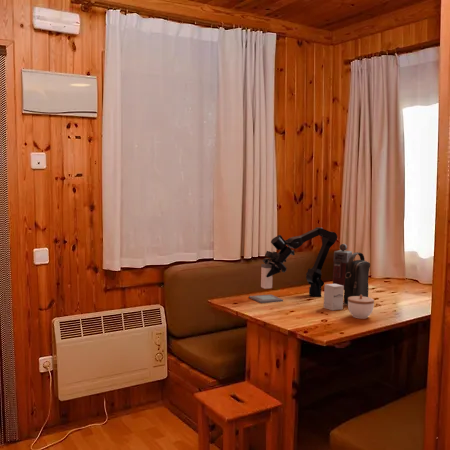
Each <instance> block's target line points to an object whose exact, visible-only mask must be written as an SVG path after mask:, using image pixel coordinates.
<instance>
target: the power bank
mask: <svg viewBox="0 0 450 450" xmlns="http://www.w3.org/2000/svg"><path fill="white" fill-rule="evenodd" d="M271 268H272V265H271V264H265V263H261V269H260V270H261V272H260V273H261V274H260V276H261V277H260V287H261V288H262V289H264V290H267V289H273V275H272V276H270V277H266V276H267V274H268V273H269V271H270V270H271Z"/></svg>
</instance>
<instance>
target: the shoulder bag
mask: <svg viewBox="0 0 450 450" xmlns="http://www.w3.org/2000/svg"><path fill="white" fill-rule="evenodd" d="M357 255H358V257H359V259H356V260H355V258H356V256H357ZM370 268H371V263H370V262H369V261H367V260H365V256H364V254H363V253H362V252H352V254H351V256H350V258H349V261H348V262H347V263H346V268H345V288H344V294H343V306H348V297H351V296H360V295H362V296H363V297H369V273H370Z"/></svg>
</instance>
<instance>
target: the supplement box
mask: <svg viewBox="0 0 450 450" xmlns="http://www.w3.org/2000/svg"><path fill="white" fill-rule="evenodd" d="M323 288H324V290H323V291H324V292H323V308H324V309H326V310H330V311H337V310H343V308H344V305H343V303H344V286H343V285H339V284H333V283H326V284H325V283H324V286H323Z"/></svg>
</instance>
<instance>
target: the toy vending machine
mask: <svg viewBox="0 0 450 450" xmlns="http://www.w3.org/2000/svg"><path fill="white" fill-rule="evenodd" d="M347 249H348V245H347V244H346V243H342V244H340V245H339V250H334V252H333V264H332V265H333V268H332V271H333V272H332V284H339V285H343V286H344V288H345V268H346V263H347V262H348V261H349V258H350V256H351V254H353V251H351V250H347Z"/></svg>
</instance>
